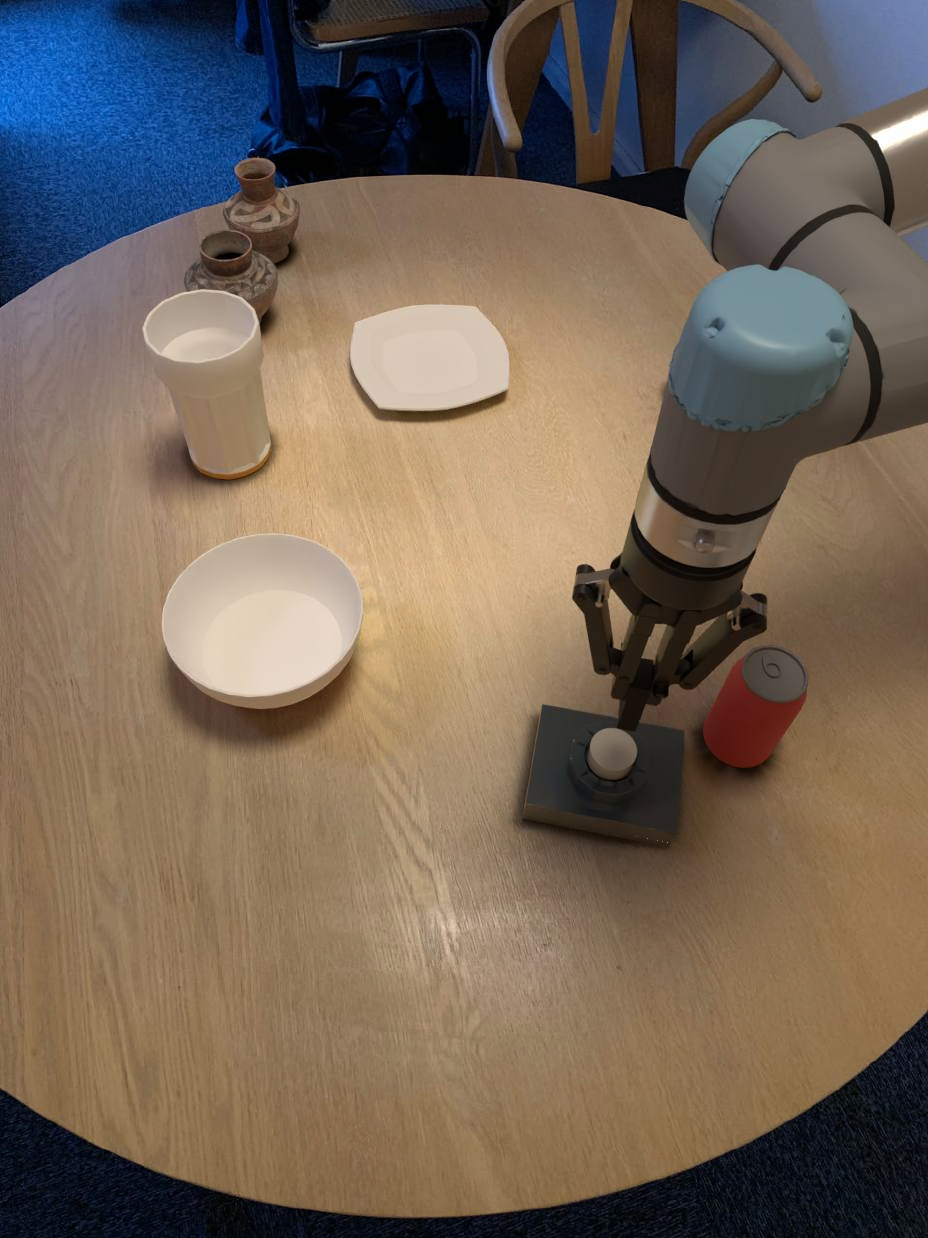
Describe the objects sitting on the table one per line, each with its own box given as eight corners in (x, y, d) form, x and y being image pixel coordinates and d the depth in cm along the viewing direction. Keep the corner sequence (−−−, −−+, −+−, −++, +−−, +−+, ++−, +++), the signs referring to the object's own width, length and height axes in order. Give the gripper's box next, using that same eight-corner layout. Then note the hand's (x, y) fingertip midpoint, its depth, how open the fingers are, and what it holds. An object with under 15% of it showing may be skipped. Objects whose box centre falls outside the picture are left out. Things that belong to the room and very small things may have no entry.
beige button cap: (634, 743, 82) (639, 732, 80) (630, 784, 79) (635, 774, 78) (589, 734, 82) (592, 723, 80) (584, 775, 80) (587, 765, 78)
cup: (163, 474, 104) (120, 348, 89) (205, 406, 110) (172, 279, 96) (258, 497, 102) (230, 373, 88) (296, 427, 109) (276, 300, 94)
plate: (526, 408, 112) (527, 395, 110) (367, 432, 108) (366, 419, 107) (485, 308, 122) (486, 295, 120) (339, 327, 119) (337, 314, 117)
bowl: (406, 656, 91) (405, 614, 85) (255, 773, 84) (242, 736, 78) (289, 548, 98) (280, 503, 92) (141, 648, 91) (120, 605, 85)
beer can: (755, 702, 90) (796, 633, 80) (782, 763, 86) (828, 699, 76) (690, 714, 89) (723, 646, 79) (715, 776, 85) (753, 713, 75)
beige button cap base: (676, 746, 87) (689, 720, 83) (669, 847, 81) (682, 825, 77) (538, 720, 88) (544, 694, 84) (522, 818, 82) (527, 795, 78)
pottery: (315, 235, 130) (306, 151, 120) (272, 353, 116) (258, 269, 106) (235, 227, 130) (220, 142, 120) (183, 343, 116) (161, 258, 106)
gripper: (578, 554, 53) (539, 741, 73) (809, 593, 52) (707, 773, 72) (593, 461, 58) (553, 661, 77) (807, 495, 56) (711, 690, 76)
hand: (627, 715), depth 74 cm, fingers closed
